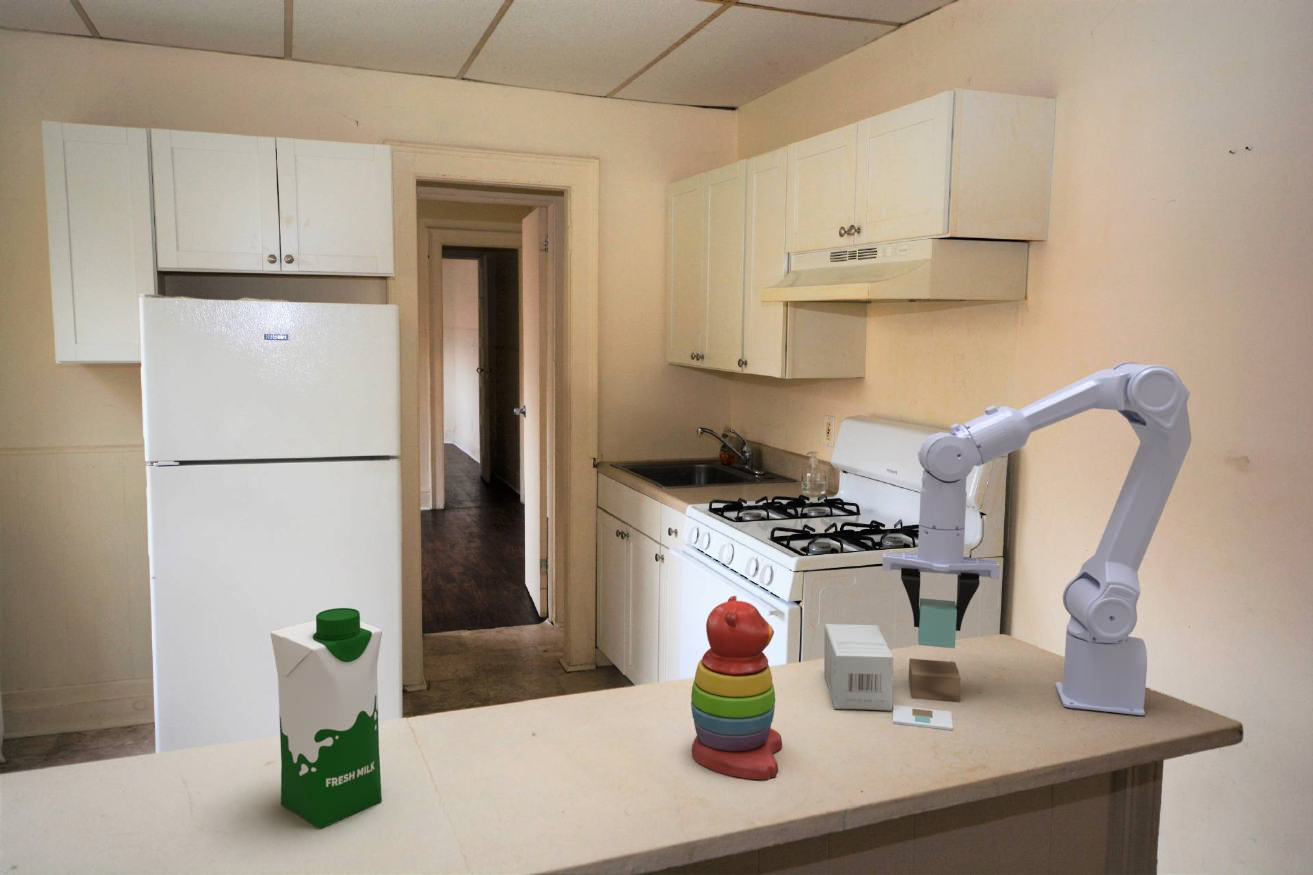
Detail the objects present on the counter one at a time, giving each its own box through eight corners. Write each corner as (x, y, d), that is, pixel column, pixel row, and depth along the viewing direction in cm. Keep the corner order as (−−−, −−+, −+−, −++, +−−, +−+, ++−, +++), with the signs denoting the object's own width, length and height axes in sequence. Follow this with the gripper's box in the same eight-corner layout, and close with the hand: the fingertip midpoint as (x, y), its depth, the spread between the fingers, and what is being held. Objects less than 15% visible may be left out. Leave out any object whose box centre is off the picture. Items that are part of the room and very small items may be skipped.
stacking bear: (776, 782, 100) (781, 620, 98) (682, 772, 102) (685, 613, 100) (783, 739, 111) (788, 591, 108) (698, 730, 113) (700, 585, 110)
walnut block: (954, 686, 128) (955, 661, 128) (959, 704, 122) (960, 678, 122) (908, 683, 129) (909, 658, 129) (911, 700, 123) (912, 674, 123)
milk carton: (316, 836, 88) (309, 630, 86) (266, 804, 94) (258, 610, 92) (395, 801, 95) (391, 608, 93) (344, 773, 101) (339, 591, 98)
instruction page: (951, 713, 118) (951, 710, 118) (952, 730, 114) (952, 727, 113) (893, 707, 120) (893, 704, 120) (892, 723, 115) (892, 720, 115)
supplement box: (892, 712, 118) (877, 674, 131) (894, 655, 118) (878, 623, 130) (833, 711, 119) (823, 673, 132) (834, 654, 118) (824, 622, 131)
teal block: (953, 637, 126) (955, 601, 125) (954, 648, 122) (956, 610, 121) (918, 634, 127) (920, 598, 127) (918, 644, 123) (920, 607, 122)
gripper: (883, 528, 121) (879, 630, 122) (1003, 536, 117) (997, 641, 119) (885, 517, 128) (880, 614, 129) (998, 524, 124) (992, 624, 125)
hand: (936, 626), depth 124 cm, fingers closed on teal block, 4 cm apart
